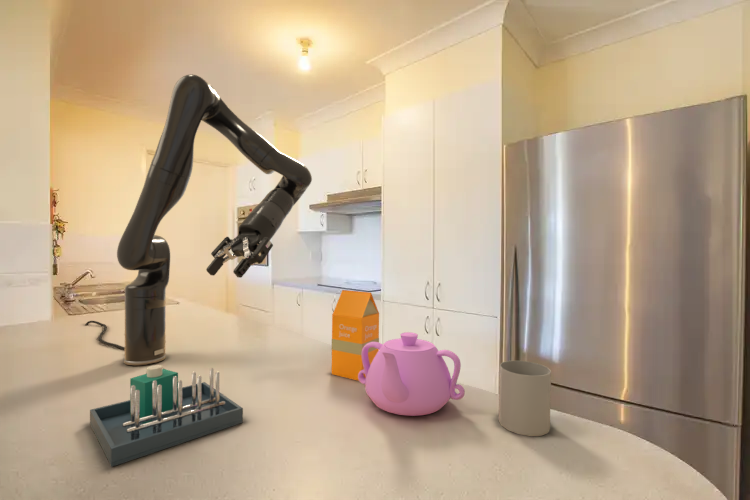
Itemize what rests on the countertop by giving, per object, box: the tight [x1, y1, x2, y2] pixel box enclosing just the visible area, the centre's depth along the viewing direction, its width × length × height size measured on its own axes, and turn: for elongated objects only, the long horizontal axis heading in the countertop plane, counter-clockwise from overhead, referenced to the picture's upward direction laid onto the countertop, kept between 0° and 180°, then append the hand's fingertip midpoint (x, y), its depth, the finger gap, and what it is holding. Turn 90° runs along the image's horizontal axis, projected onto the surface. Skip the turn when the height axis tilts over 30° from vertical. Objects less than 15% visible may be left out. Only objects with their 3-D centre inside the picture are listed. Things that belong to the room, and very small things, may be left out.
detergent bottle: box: [129, 364, 179, 424], centre depth 68 cm, size 4×6×8 cm
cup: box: [498, 360, 552, 437], centre depth 67 cm, size 8×8×10 cm
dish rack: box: [123, 367, 225, 441], centre depth 62 cm, size 3×15×9 cm, turn 135°
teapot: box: [357, 331, 466, 417], centre depth 73 cm, size 22×22×14 cm
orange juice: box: [331, 289, 380, 382], centre depth 93 cm, size 8×9×20 cm
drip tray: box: [89, 381, 244, 468], centre depth 66 cm, size 17×19×3 cm
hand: (222, 274), depth 82 cm, fingers open, 8 cm apart
